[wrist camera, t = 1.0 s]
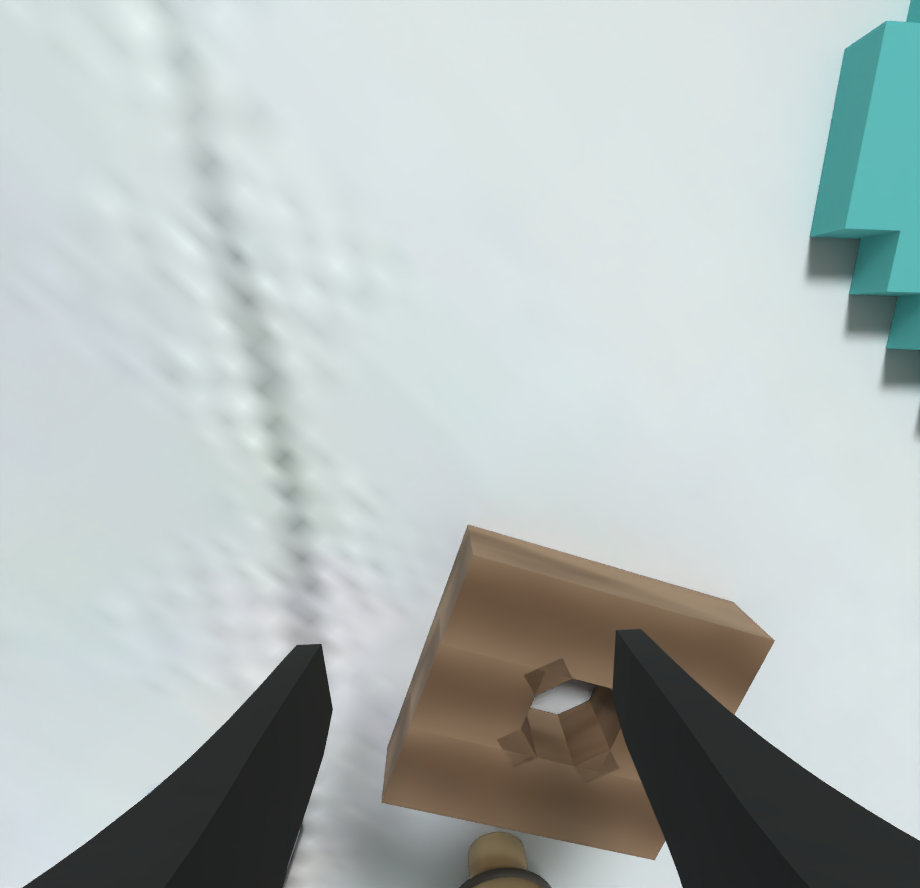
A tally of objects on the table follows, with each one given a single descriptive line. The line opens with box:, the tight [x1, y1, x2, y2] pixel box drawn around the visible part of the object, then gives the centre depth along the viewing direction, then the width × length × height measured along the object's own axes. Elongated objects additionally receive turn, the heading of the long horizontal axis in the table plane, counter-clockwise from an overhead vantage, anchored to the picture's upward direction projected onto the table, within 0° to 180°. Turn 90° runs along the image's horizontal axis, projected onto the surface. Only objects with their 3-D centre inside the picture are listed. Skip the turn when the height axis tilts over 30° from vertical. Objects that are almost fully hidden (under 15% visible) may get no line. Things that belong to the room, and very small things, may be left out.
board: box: [381, 525, 775, 860], centre depth 23 cm, size 13×14×3 cm
